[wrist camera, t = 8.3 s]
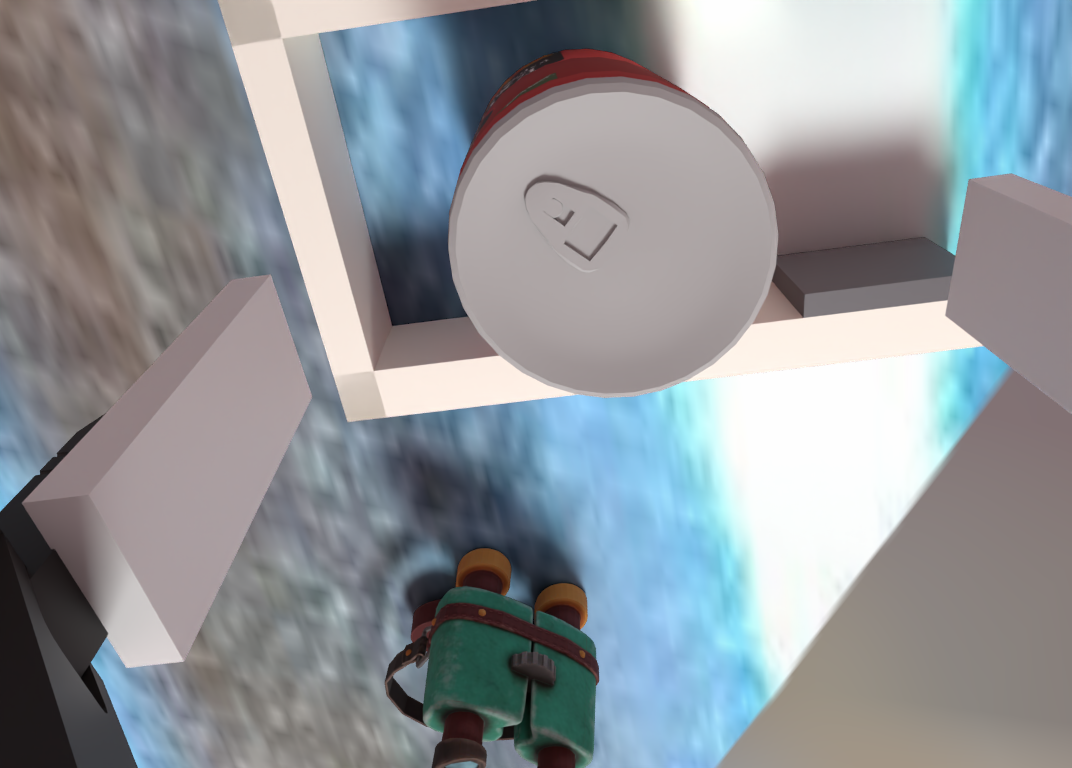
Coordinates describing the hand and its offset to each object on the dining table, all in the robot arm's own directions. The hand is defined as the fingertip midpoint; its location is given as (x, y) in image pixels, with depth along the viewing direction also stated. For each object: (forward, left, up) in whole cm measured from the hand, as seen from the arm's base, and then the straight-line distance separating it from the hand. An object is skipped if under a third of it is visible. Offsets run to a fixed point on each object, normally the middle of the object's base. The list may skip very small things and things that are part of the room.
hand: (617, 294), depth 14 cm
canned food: (0, 0, -14) cm, 14 cm away
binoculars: (+23, -7, -14) cm, 28 cm away
